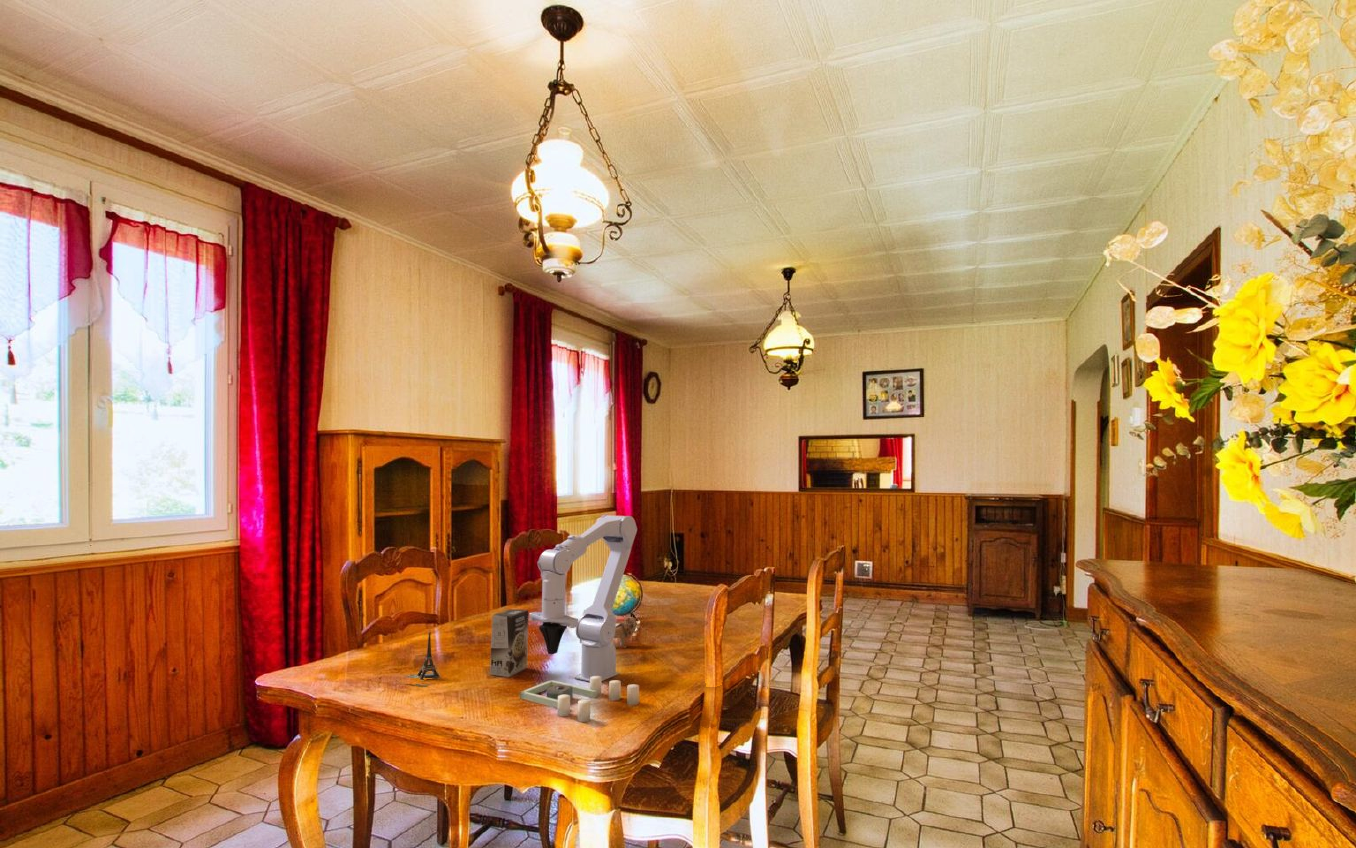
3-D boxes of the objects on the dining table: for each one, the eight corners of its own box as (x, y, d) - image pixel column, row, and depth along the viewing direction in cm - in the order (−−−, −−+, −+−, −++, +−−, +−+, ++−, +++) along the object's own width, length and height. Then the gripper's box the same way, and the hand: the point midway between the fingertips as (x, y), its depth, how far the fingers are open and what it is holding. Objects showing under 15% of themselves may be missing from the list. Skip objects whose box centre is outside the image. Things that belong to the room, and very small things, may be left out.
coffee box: (509, 677, 176) (511, 616, 177) (489, 675, 178) (490, 614, 179) (528, 668, 184) (529, 609, 185) (508, 665, 186) (509, 608, 187)
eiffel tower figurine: (428, 668, 185) (429, 620, 186) (459, 671, 182) (461, 622, 183) (392, 685, 170) (393, 633, 171) (425, 689, 168) (427, 636, 169)
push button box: (556, 696, 163) (557, 683, 163) (572, 698, 161) (572, 685, 161) (546, 702, 158) (546, 688, 159) (562, 704, 157) (562, 691, 157)
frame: (551, 685, 169) (551, 680, 169) (596, 697, 161) (596, 690, 162) (519, 698, 160) (520, 692, 160) (566, 711, 152) (566, 704, 152)
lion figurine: (634, 643, 211) (634, 614, 212) (638, 647, 206) (638, 618, 207) (588, 646, 207) (589, 617, 208) (591, 651, 202) (591, 621, 203)
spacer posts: (594, 691, 165) (595, 675, 166) (641, 702, 158) (641, 685, 158) (546, 713, 151) (547, 695, 151) (595, 726, 143) (595, 707, 143)
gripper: (521, 597, 165) (519, 652, 164) (565, 604, 158) (564, 661, 157) (540, 593, 171) (539, 646, 171) (584, 599, 164) (583, 654, 163)
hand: (552, 653), depth 164 cm, fingers closed
